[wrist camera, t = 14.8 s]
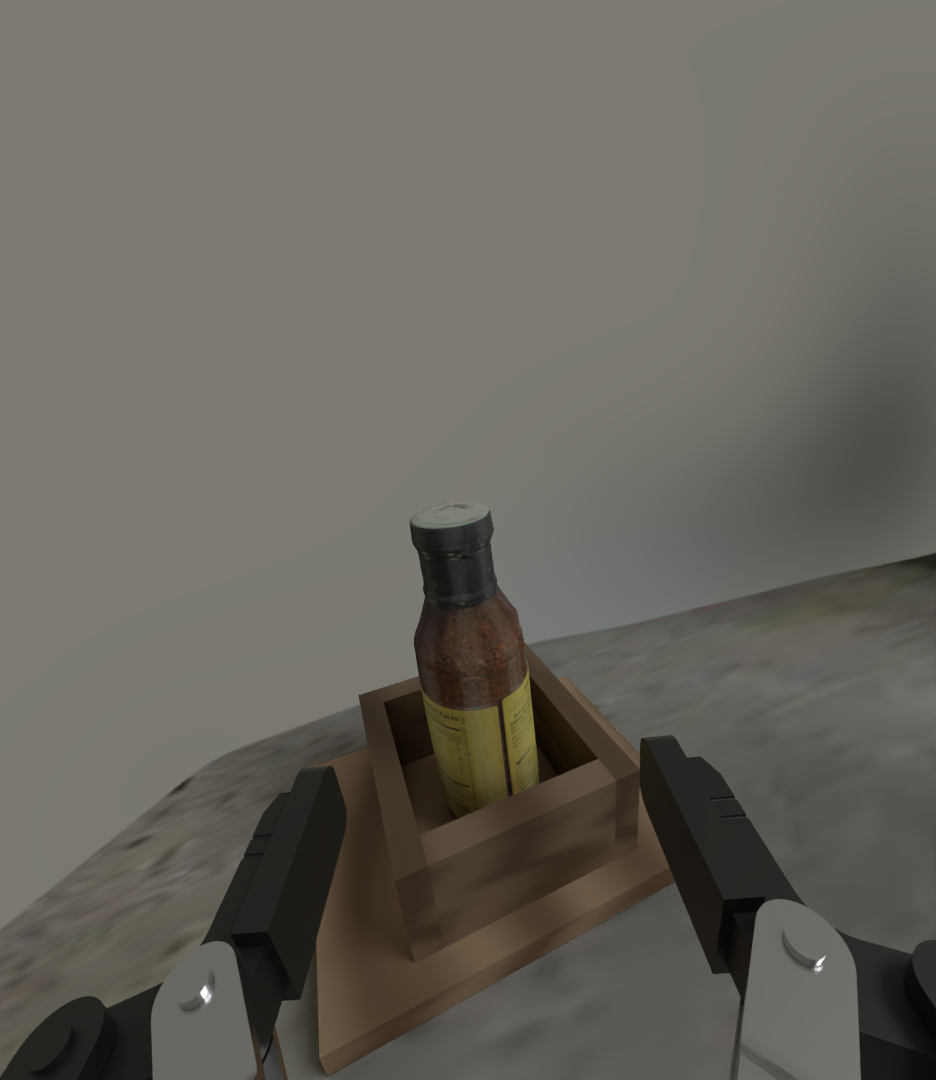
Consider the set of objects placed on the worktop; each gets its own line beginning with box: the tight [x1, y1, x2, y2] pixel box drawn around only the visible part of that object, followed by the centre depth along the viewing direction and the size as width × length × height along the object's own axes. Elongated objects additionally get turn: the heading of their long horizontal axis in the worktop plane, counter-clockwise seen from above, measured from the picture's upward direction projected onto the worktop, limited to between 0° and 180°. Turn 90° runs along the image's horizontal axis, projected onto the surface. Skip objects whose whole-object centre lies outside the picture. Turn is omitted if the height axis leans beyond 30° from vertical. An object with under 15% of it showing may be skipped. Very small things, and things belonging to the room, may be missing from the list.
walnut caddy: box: [312, 643, 675, 1076], centre depth 28 cm, size 22×16×8 cm
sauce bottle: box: [410, 502, 539, 820], centre depth 25 cm, size 7×6×20 cm
